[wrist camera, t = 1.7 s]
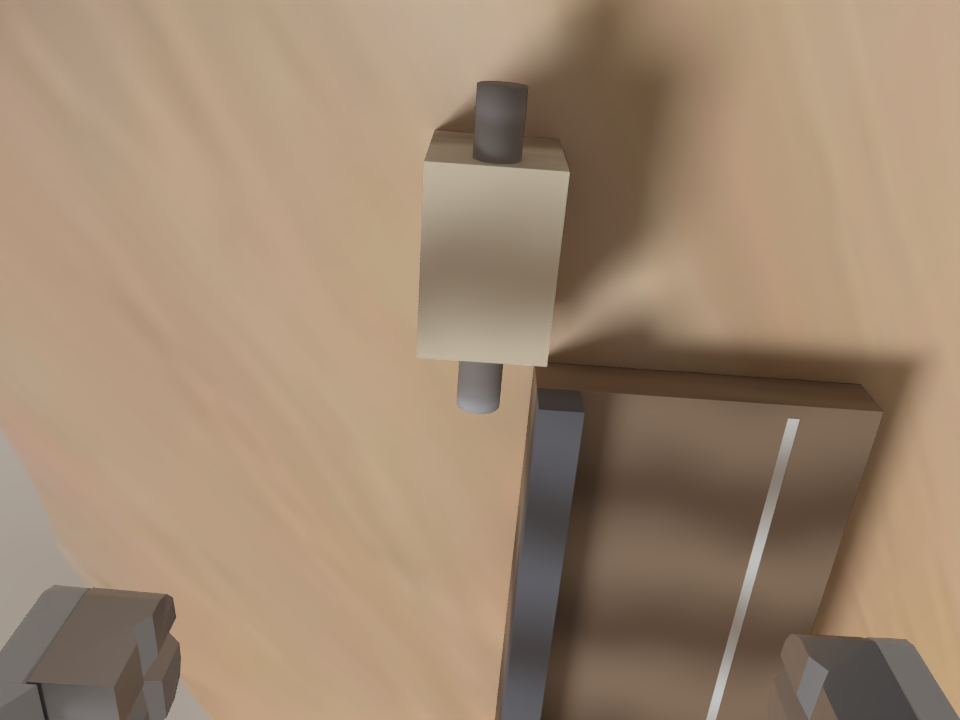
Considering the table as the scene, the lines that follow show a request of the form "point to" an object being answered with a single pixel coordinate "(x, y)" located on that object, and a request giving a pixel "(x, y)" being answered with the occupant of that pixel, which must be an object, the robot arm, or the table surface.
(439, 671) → the table surface
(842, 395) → the board
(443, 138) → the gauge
